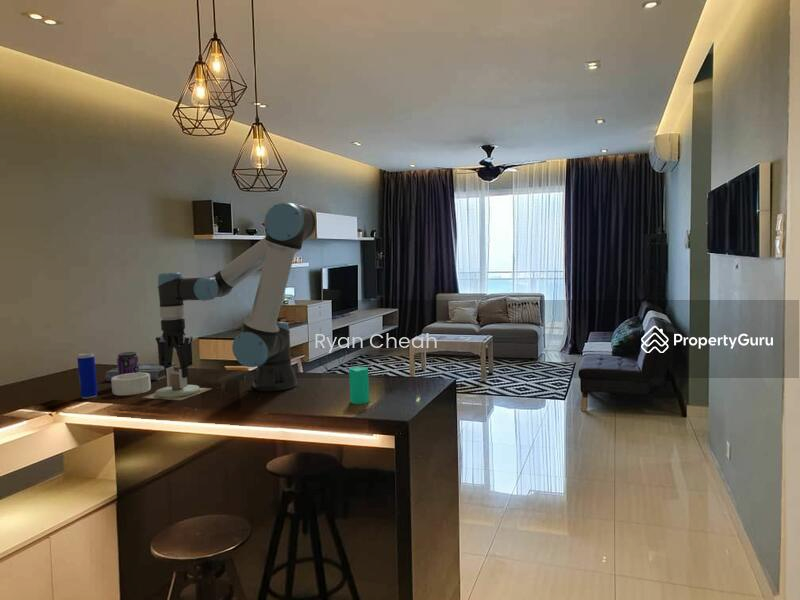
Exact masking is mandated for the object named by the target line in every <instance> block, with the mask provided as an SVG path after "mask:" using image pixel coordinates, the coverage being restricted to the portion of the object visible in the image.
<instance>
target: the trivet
mask: <svg viewBox="0 0 800 600" xmlns="http://www.w3.org/2000/svg"><path fill="white" fill-rule="evenodd" d="M212 389H213V388H208V387H199V390H200V391H199V392H198V393H196V394H193V395H189V396H184V397H177V398H159V397H156V393H155V392H154V393H151V394H148V395H145V396H142V397H141V398H142V399H156V400H157V399H158V400H171V401H183V400H185V399H189V398H191V397H194V396H197V395H199V394H202V393H204V392H208V391H210V390H212Z"/></svg>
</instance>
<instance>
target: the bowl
mask: <svg viewBox="0 0 800 600" xmlns="http://www.w3.org/2000/svg"><path fill="white" fill-rule="evenodd" d="M110 382H111V392H112V395H115V396H133V395H139V394H143V393H146V392H149V391H151V388H152V384H151V383H152V382H151V380H150V374H149V373H141V372H140V373H128V374H122V375H118V376H114V377H112V378H111V381H110Z"/></svg>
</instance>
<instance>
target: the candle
mask: <svg viewBox="0 0 800 600" xmlns="http://www.w3.org/2000/svg"><path fill="white" fill-rule="evenodd" d="M369 374H370V373H369V367H368V366H360V365H359V363H358V364H357V366H351V367H349V368H348V376H349V394H350V395H349V398H350V399H349V400H350V403H351V404H354V405H355V404H356V405H361V404H367V403H369V402H370V382H369V381H370V380H369V379H370V378H369V377H370V376H369Z"/></svg>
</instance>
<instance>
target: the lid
mask: <svg viewBox="0 0 800 600" xmlns="http://www.w3.org/2000/svg"><path fill="white" fill-rule="evenodd" d="M171 383H172V387H168V386H165V387H162V388H159V389H157V390H155V391H154V393H156V397H159V398H177V397H184V396H189V395H193V394H196V393H198V392H199V391H200V390H199V388H200V386H199V385H196V384H187V386H186V387H183V388H180V380H179V371H177V373H172V374H171Z"/></svg>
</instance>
